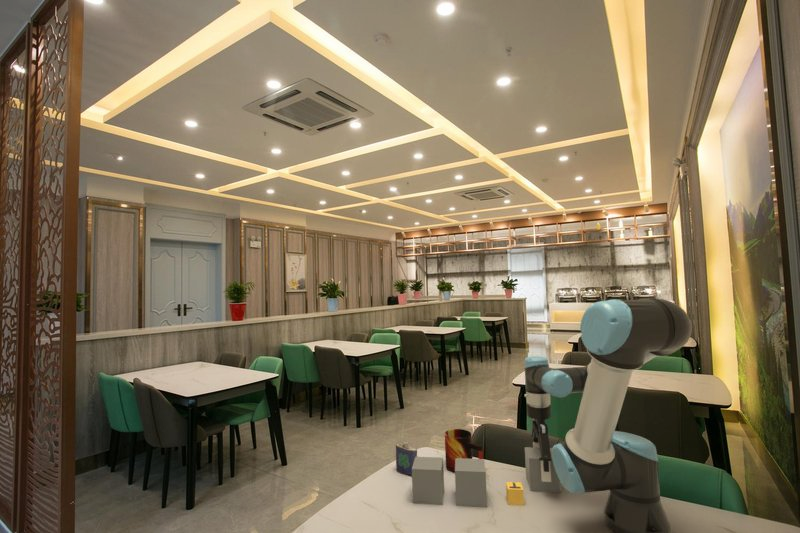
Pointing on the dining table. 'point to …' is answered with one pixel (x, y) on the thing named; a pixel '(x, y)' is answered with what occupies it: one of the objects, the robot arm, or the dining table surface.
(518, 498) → the letter cube
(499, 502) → the dining table surface
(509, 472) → the dining table surface
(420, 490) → the large plain grey block
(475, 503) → the pale gray cube
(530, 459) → the pale grey cube
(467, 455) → the mug
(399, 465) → the flask
